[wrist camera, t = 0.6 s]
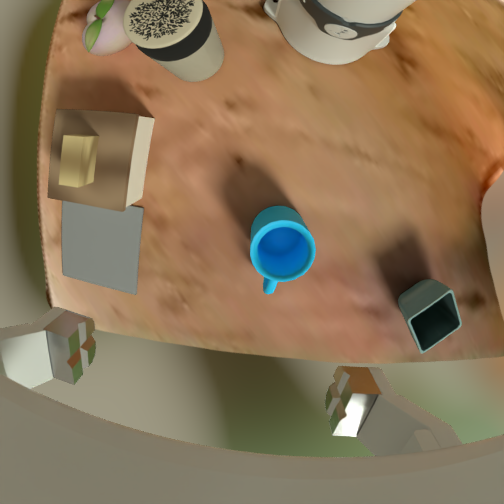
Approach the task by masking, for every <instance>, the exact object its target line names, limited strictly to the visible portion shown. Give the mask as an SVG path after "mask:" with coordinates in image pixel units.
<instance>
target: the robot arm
mask: <svg viewBox="0 0 504 504" xmlns="http://www.w3.org/2000/svg"><path fill="white" fill-rule="evenodd" d="M277 1H278V2H277V3H274V2H273V0H266V2H265V4H264V11H265V12H266V13H267V14H268V15H269V16H270V17H271V18H272V19H273V20H275V21H276V22H277V24H278V25H279V27H280V29H281V31H282V33H283V35H284V37H285V38H286V40H287V41H288V42H289V43H290V45H291V46H292V47H293V48H294V49H296V50H297V51H298V52H299V53H301V54H302V55H304V56H306V57H308V58H310V59H312V60H315V61H318V62H321V63H326V64H346V63H350V62H353V61H355V60H358V59H359V58H361V57H362V56H364V55H365V54H366V53H367V52H369V51H371V50H374V49H379V48H383V47H385V46H386V45H387V44H388V43H389V34H390V33H391V32H392V31H393V30H394V29H395V27H396V23H395V21H396V20H397V19H398V17H399V16H400V15H401V13H402V11H403V9H405V8H406V7H408V6H409V5H410V4H412V3H413V2H414V1H416V0H277ZM94 331H95V325H94V321H93V319H92V318H90V317H86V316H83V315H80V314H77V313H74V312H71V311H68V310H66V309H62V308H59V307H53V308H52V309H51V310H50V311H48V312H47V313H46V314H44V315H43V316H41V317H40V318H39V319H38V320H36V321H35V322H33V323H32V324H31V325H30V324H21V325H16V326H10V327H5V328H0V504H504V434H503V435H499V436H495V437H492V438H488V439H484V440H480V441H476V442H471V443H467V444H462V442H461V441H460V439H459V438H458V436H457V435H456V433H455V432H454V430H453V429H452V427H451V425H448V424H447V423H445V422H444V421H442V420H440V419H439V418H437V417H435V416H434V415H432V414H430V413H429V412H427V411H426V410H424V409H422V408H421V407H419V406H417V405H416V404H414V403H412V402H411V401H409V400H408V399H406V398H404V397H403V396H401V395H396V393H395V391H394V390H393V388H392V386H391V385H390V383H389V382H388V380H387V378H386V376H385V374H384V373H383V371H382V369H380V368H373V367H349V366H338V367H337V369H336V370H335V373H334V375H333V377H334V380H335V382H334V383H333V384H332V385H330V386H329V388H328V391H327V393H326V399H325V408H326V412H327V413H328V414H329V415H330V416H331V418H330V420H329V423H330V427H331V431H332V435H336V436H357V438H358V439H359V440H360V441H361V442H362V443H363V444H364V445H365V446H366V447H367V448H368V449H369V450H370V451H371V452H372V453H373V454H374V455H375V456H369V457H338V458H337V457H336V458H335V457H334V458H333V457H297V456H282V455H281V456H280V455H269V454H259V453H250V452H242V451H235V450H228V449H222V448H215V447H209V446H204V445H198V444H194V443H188V442H184V441H179V440H175V439H171V438H166V437H162V436H158V435H154V434H151V433H146V432H143V431H139V430H136V429H133V428H129V427H126V426H123V425H120V424H117V423H113V422H110V421H107V420H105V419H101V418H98V417H96V416H93V415H90V414H88V413H85V412H82V411H80V410H77V409H75V408H72V407H70V406H67V405H65V404H62V403H60V402H58V401H55V400H53V399H51V398H49V397H46V396H44V395H42V394H40V393H37V392H35V391H33V390H31V388H33V387H35V386H37V385H40V384H42V383H44V382H47V381H49V380H51V379H53V377H54V378H56V379H59V380H62V381H65V382H67V383H70V384H73V385H75V384H76V382H77V381H78V380H79V379H80V377H81V376H82V375H83V368H86V367H89V366H90V364H91V363H92V362H93V359H94V356H95V350H96V342H95V340H94V338H93V337H92V333H93V332H94Z"/></svg>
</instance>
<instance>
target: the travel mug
mask: <svg viewBox="0 0 504 504" xmlns="http://www.w3.org/2000/svg"><path fill="white" fill-rule="evenodd" d="M123 28H124V31H125V34H126V35H127V37H128V38H129V39H130V40H131V41H132V42H133V43H134V44H136V46H137V47H138V49H139V50H140V51H142V52H143V53H144V54H146V55H147V56H149V57H150V58H152V59H153V60H154V61H156V62H157V63H159V64H160V65H162V66H163V67H164V68H166V69H167V70H168V71H170V72H171V73H173V74H174V75H175V76H177V77H178V78H180V79H182V80H185V81H189V82H197V81H202V80H205V79H207V78H209V77H211V76H212V75H214V74H215V73H216V72H217V71H218V70H219V68H220V67H221V65H222V62H223V59H224V49H223V46H222V43H221V41H220V38H219V35H218V33H217V30H216V27H215V25H214V22H213V20H212V17H211V14H210V12H209V9H208V7H207V5H206V4H205V2H204V1H203V0H131V2H130V3H129V5H128V6H127V8H126V11H125V13H124V17H123Z"/></svg>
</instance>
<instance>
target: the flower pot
mask: <svg viewBox="0 0 504 504" xmlns="http://www.w3.org/2000/svg"><path fill="white" fill-rule="evenodd" d="M398 304H399V308H400V310H401V312H402V314H403V317H404V319H405V321H406V323H407V326H408V328H409V330H410V333H411V335H412V337H413V339H414V341H415V343H416V345H417V347H418V349H419V351H420V353H424V352H426V351H427V350H429V349H430V348H432V347H433V346H435V345H436V344H437V343H439V342H440V341H442V340H443V339H444V338H446V337H447V336H449V335H450V334H451V333H453V332H454V331H456V330H457V329H458V328H459V327H460V326H461V325H462V322H461V318H460V315H459V311H458V307H457V304H456V300H455V296H454V292H453V290H452V289H450V288H449V287H447V286H445V285H444V284H442V283H440V282H439V281H436V280H433V279H426V280H422V281H420V282H418V283H417V284H415V285H414V286H413V287H411V288H410V289H408V290H407V291H405V292H404V293H402V294H401V295H400V296H399V299H398Z"/></svg>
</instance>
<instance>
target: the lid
mask: <svg viewBox="0 0 504 504" xmlns="http://www.w3.org/2000/svg"><path fill="white" fill-rule="evenodd" d="M138 119H139V114H131V113H120V112H108V111H93V110H71V109H57V110H56V116H55V122H54V129H53V137H52V145H51V155H50V166H49V180H48V198H51V199H57V200H62V201H67V202H73V203H78V204H83V205H89V206H94V207H99V208H104V209H109V210H115V211H120V212H123V211H125V210H126V200H127V191H128V183H129V175H130V168H131V161H132V154H133V148H134V142H135V136H136V130H137V125H138Z"/></svg>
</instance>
